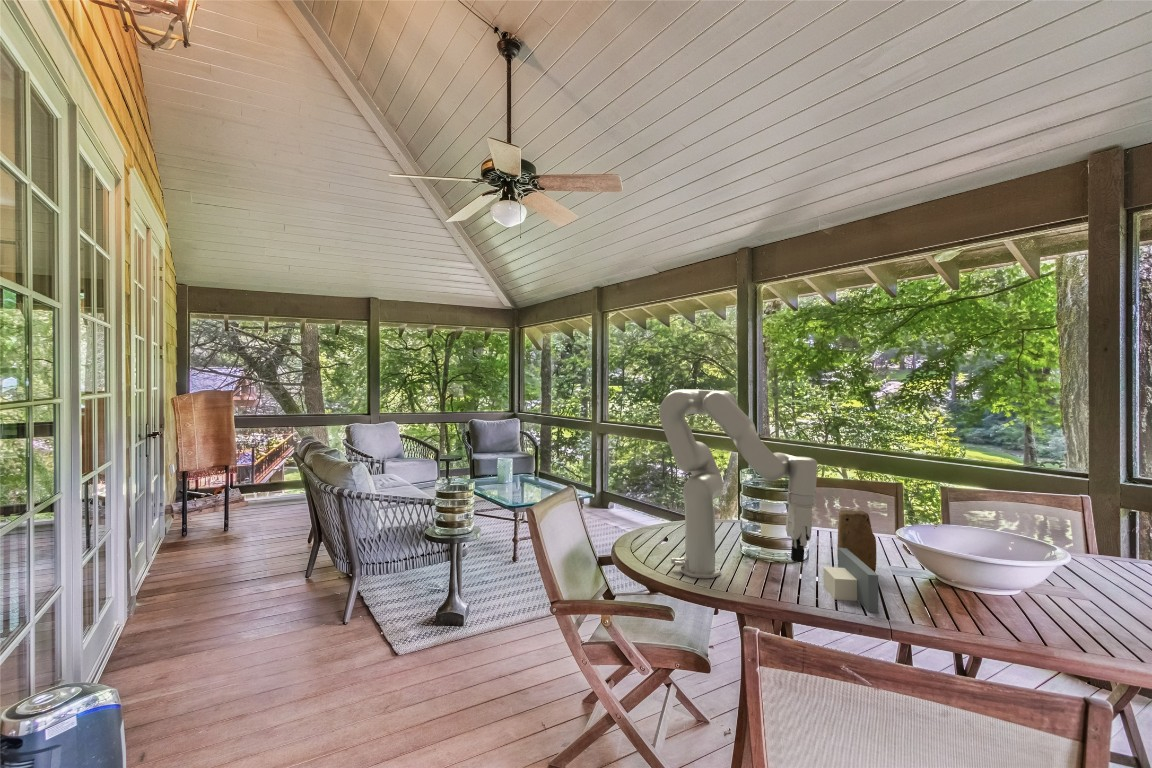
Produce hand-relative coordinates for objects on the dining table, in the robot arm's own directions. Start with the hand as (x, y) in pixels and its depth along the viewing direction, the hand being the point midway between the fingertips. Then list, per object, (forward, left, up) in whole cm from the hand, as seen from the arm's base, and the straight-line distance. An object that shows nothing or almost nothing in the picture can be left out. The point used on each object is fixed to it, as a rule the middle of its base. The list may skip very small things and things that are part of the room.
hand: (797, 560), depth 158 cm
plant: (+59, +45, -10) cm, 75 cm away
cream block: (+12, 0, -9) cm, 15 cm away
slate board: (+16, -1, -9) cm, 19 cm away
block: (+23, +18, -9) cm, 31 cm away
